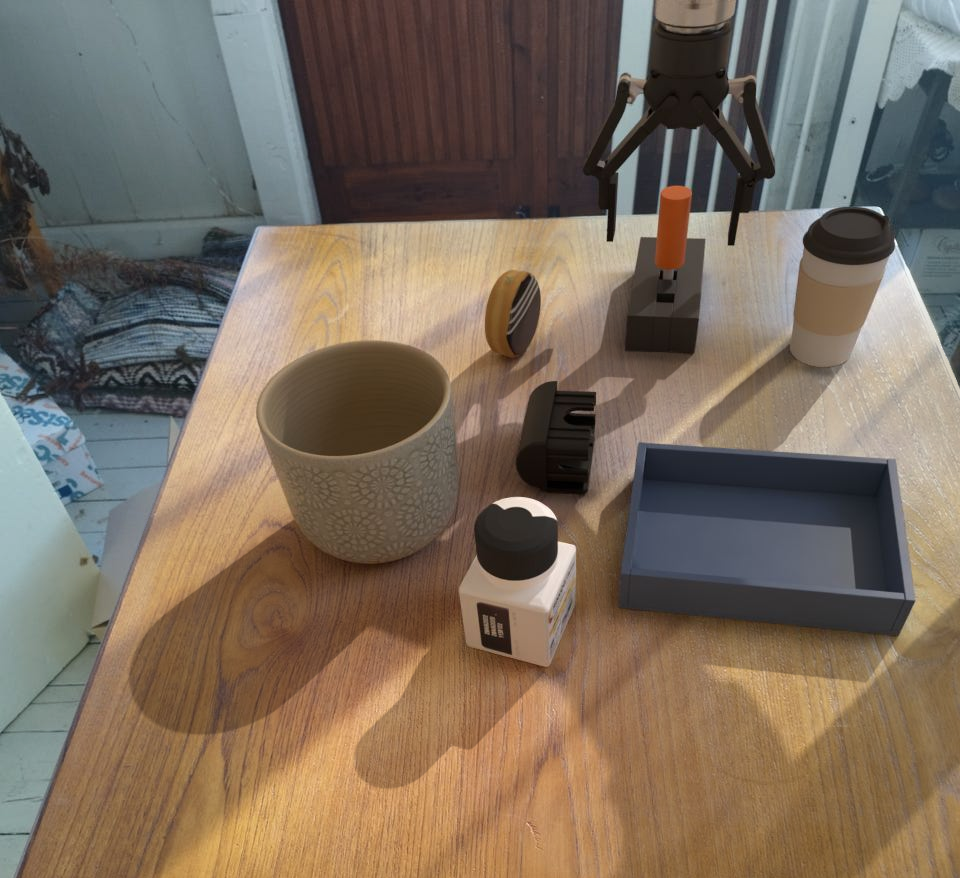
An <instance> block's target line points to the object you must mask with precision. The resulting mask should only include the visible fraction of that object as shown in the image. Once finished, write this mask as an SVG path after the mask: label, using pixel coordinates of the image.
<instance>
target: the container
mask: <svg viewBox="0 0 960 878" xmlns="http://www.w3.org/2000/svg"><path fill="white" fill-rule="evenodd" d="M473 533H474V543H475V544H474V545H475V553H476V555H475V557H474V559H473V561H472V562H471V564H470V566H469V568H468V570H467V572H466V574H465V576H464V577H463V580H462V581H461V583H460V584H459V587H458V595H459V603H460V610H461V617H462V622H463V623H462V625H463V630H464V637H465V643H466V645H467V647H468V648H472V649H476V650H480V651H483V652H487V653H491V654H496V655H499V656H503V657H507V658H510V659H514V660H517V661H520V662H521V661H522V662H524V663H529V664H533V665H536V666H539V667H540V666H541V667H545V668H547V667H550V665H551V663H552V661H553V658H554V656H555V653H556V651H557V649H558V647H559V644H560V641H561V639H562V637H563V635H564V632H565V630H566V627H567V625H568V623H569V620H570V619H571V616H572V613H573V611H574V608H575V606H576V595H577V594H576V593H577V592H576V588H577V586H576V584H577V583H576V582H577V546H576V545H575V544H572V543H567V542H563V541H559V523H558V519H557V516H556V515H555V513H554V512H553V511H552V509H550V507H549V506H547V505H545V504H544V503H543V502H540V501H538V500H536V499H533V498H529V497H524V496H511V497H506V498H502V499H498V500H496V501H494V502H492V503H490V504H489V505H487V506H486V507H485V508H484V509H483V510H482V511H481V512H479V514H478V516H477V517H476V519H475V521H474V525H473Z"/></svg>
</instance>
